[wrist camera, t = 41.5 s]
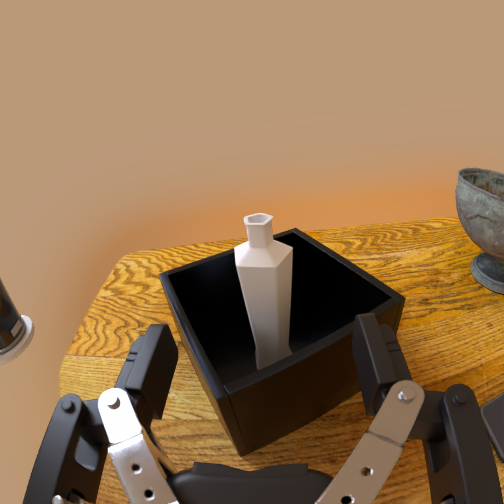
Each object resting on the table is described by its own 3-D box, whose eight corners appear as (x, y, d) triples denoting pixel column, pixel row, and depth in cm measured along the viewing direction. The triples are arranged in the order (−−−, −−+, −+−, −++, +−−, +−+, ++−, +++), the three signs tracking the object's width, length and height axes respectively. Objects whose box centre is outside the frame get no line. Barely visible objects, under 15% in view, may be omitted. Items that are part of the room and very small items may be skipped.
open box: (240, 457, 20) (215, 400, 15) (183, 344, 33) (158, 273, 28) (383, 374, 25) (406, 297, 21) (298, 296, 38) (295, 227, 33)
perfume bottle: (300, 371, 27) (297, 227, 19) (255, 378, 27) (230, 237, 19) (291, 338, 31) (284, 203, 23) (250, 344, 31) (228, 210, 23)
